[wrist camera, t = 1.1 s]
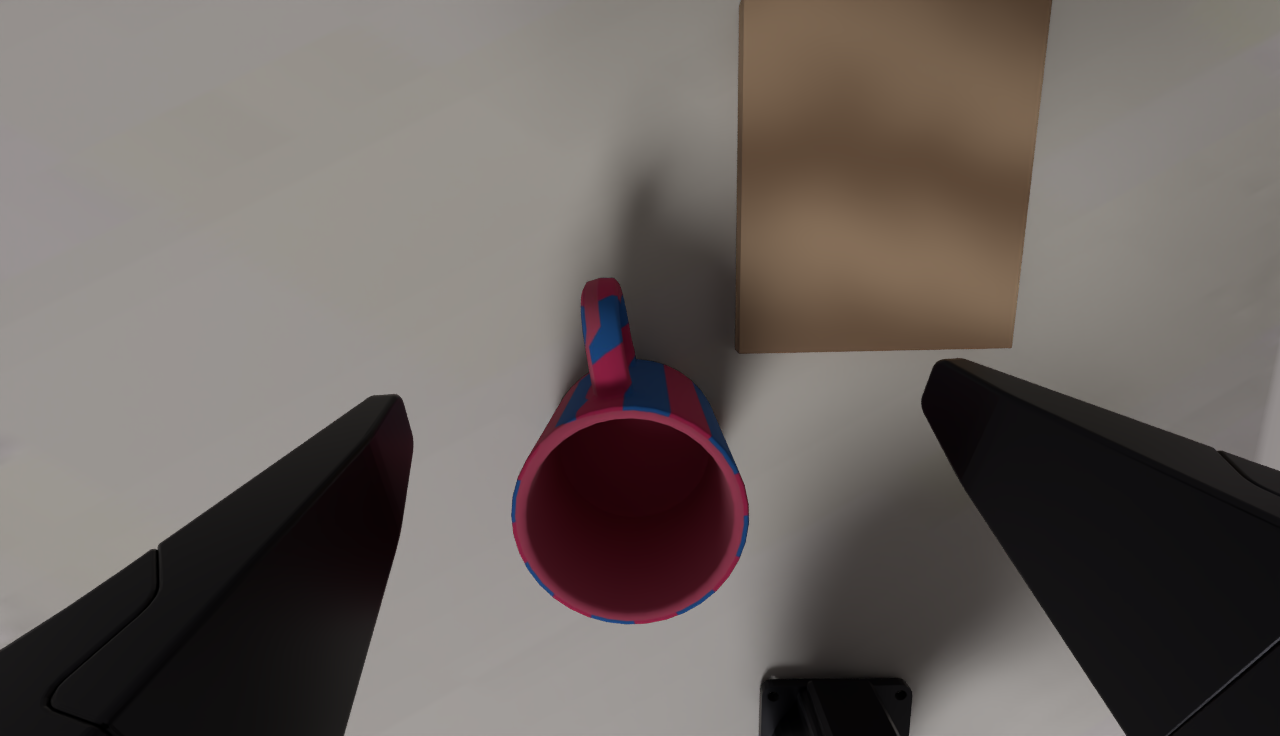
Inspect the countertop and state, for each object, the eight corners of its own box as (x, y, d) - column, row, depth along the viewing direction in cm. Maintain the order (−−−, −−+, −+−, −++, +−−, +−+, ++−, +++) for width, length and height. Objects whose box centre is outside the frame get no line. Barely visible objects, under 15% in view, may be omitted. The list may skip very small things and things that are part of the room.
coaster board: (994, 343, 21) (1011, 348, 20) (735, 349, 21) (739, 353, 20) (1032, -3, 18) (1054, -18, 17) (739, 6, 18) (744, -9, 18)
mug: (557, 517, 22) (519, 627, 16) (542, 275, 20) (491, 284, 14) (717, 514, 22) (747, 623, 16) (717, 271, 20) (752, 276, 14)
